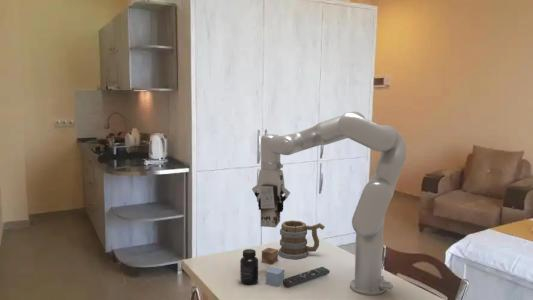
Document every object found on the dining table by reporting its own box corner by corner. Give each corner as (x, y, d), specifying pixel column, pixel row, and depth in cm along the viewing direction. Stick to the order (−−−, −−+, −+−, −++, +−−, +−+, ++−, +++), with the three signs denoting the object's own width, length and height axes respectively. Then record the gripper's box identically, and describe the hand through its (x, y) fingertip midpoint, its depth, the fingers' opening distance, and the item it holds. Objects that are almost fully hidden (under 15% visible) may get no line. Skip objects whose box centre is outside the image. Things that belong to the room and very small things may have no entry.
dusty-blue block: (284, 282, 165) (284, 269, 164) (277, 287, 161) (277, 274, 160) (272, 279, 168) (272, 267, 167) (266, 284, 163) (266, 271, 163)
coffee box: (276, 227, 167) (276, 186, 165) (260, 226, 169) (260, 185, 167) (280, 221, 176) (280, 181, 174) (265, 220, 177) (265, 181, 176)
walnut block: (277, 260, 187) (277, 249, 186) (271, 264, 183) (272, 253, 182) (267, 258, 190) (267, 247, 189) (261, 262, 185) (261, 250, 185)
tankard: (275, 257, 191) (276, 224, 189) (283, 248, 203) (283, 216, 201) (321, 262, 185) (321, 228, 183) (326, 252, 197) (326, 220, 195)
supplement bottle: (262, 281, 166) (262, 250, 164) (249, 287, 161) (249, 255, 159) (249, 276, 170) (249, 246, 169) (236, 281, 165) (236, 251, 164)
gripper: (295, 166, 168) (294, 211, 170) (256, 163, 177) (257, 205, 179) (285, 169, 162) (285, 215, 164) (246, 165, 171) (246, 209, 173)
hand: (270, 210), depth 172 cm, fingers closed on coffee box, 7 cm apart
